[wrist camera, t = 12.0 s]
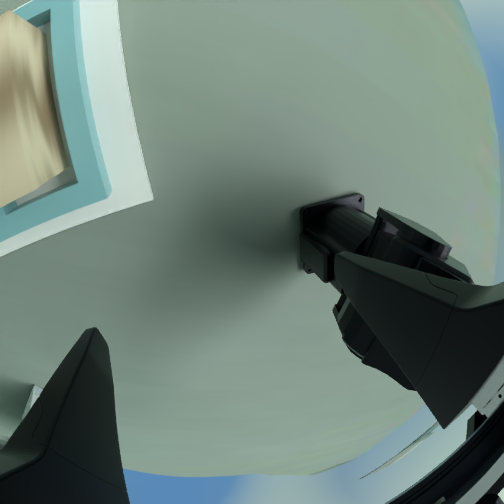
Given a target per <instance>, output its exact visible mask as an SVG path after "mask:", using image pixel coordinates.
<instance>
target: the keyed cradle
mask: <svg viewBox="0 0 504 504" xmlns="http://www.w3.org/2000/svg"><path fill="white" fill-rule="evenodd" d="M12 12H14V13H15V14H17V15H18V16H20V17H21V18H23V19H24V20H26V21H27V22H29V23H30V24H32V25H33V26H35V27H36V28H38V29H39V30H41V31H42V32H44V33H45V34H46V35H47V50H48V61H49V70H50V78H51V85H52V91H53V97H54V103H55V109H56V114H57V119H58V123H59V128H60V132H61V137H62V141H63V145H64V149H65V153H66V156H67V160H68V164H69V168H67V169H65V170H64V171H62V172H61V173H59V174H58V175H56V176H55V177H53V178H52V179H50V180H49V181H47V182H46V183H44V184H43V185H42V186H40V187H39V188H37V189H36V190H34V191H32V192H30V193H28V194H26V195H24V196H22V197H20V198H18V199H16V200H14V201H12V202H10V203H9V204H7V205H5V206H3V207H1V208H0V257H1V256H3V255H5V254H7V253H10V252H12V251H14V250H16V249H19V248H21V247H23V246H26V245H28V244H30V243H33V242H35V241H38V240H40V239H43V238H45V237H48V236H50V235H53V234H55V233H58V232H60V231H63V230H65V229H68V228H71V227H73V226H76V225H79V224H82V223H84V222H87V221H90V220H93V219H96V218H99V217H101V216H104V215H107V214H110V213H113V212H116V211H119V210H122V209H126V208H129V207H132V206H135V205H138V204H141V203H145V202H148V201H151V200H153V193H152V189H151V185H150V181H149V177H148V174H147V170H146V166H145V162H144V157H143V153H142V149H141V145H140V140H139V136H138V131H137V127H136V122H135V117H134V112H133V107H132V102H131V97H130V91H129V86H128V80H127V74H126V68H125V61H124V55H123V47H122V40H121V32H120V23H119V13H118V1H117V0H31V1H29V2H27V3H26V4H24V5H22V6H20V7H19V8H17V9H15V10H13V11H12Z"/></svg>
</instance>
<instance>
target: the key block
mask: <svg viewBox="0 0 504 504" xmlns="http://www.w3.org/2000/svg"><path fill="white" fill-rule="evenodd" d="M67 168H69V164H68V160H67V156H66V153H65V149H64V145H63V141H62V137H61V132H60V128H59V123H58V119H57V114H56V109H55V103H54V97H53V91H52V85H51V78H50V70H49V61H48V50H47V35H46V34H45V33H44V32H42V31H41V30H39V29H38V28H36V27H35V26H33V25H32V24H30V23H29V22H27V21H26V20H24V19H23V18H21V17H20V16H18V15H17V14H15V13H14V12H12V11H11V10H9V11H7V12H6V13H4V14H2V15H1V16H0V208H1V207H3V206H5V205H7V204H9V203H10V202H12V201H14V200H16V199H18V198H20V197H22V196H24V195H26V194H28V193H30V192H32V191H34V190H36V189H37V188H39V187H40V186H42V185H43V184H44V183H46V182H47V181H49V180H50V179H52V178H53V177H55V176H56V175H58V174H59V173H61V172H62V171H64V170H65V169H67Z"/></svg>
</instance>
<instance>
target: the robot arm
mask: <svg viewBox="0 0 504 504" xmlns="http://www.w3.org/2000/svg"><path fill="white" fill-rule="evenodd" d="M359 198H360V199H359ZM358 199H359V201H358ZM307 210H308V213H307V214H306V215H305V212H306V211H307ZM300 221H301V233H300V251H301V259H302V260H303V269H304V271H305V272H306V273H307V274H311V273H315V274H316V275H317V276H318V277H319V278H320V279H321V280H322V281H323V282H324V283H328V282H330V283H331V284H332V285H333V286H334V287H335V288H336V289H337V290H338V291H339V292H340V294H341V297H340V299H339V301H338V303H337V304H335V306H334V308H333V310H332V311H333V314H334V316H335V318H336V321H337V324H338V326H339V329H340V331H341V334H342V339H343V341H344V343H345V344H346V346H347V347H348V349H349V350H350V352H352V353H353V354H354V355H355V356H357V357H358V358H360V359H361V360H362V361H361V362H362V363H363V364H365V365H368V366H370V367H373V368H376V369H378V370H380V371H382V372H383V373H385V374H387V375H388V376H390V377H391V378H393V379H394V380H395V381H397V382H398V383H399V384H400V385H402V386H403V387H404V388H406V389H408V390H413V391H417V392H418V393H419V395H420V396H421V398H422V399H423V401H424V402H425V403H426V405H427V406H428V407H429V409H430V411H431V412H432V414H433V415H434V416H435V418H436V419H437V421H438V422H439V424H440V425H441V427H442V428H443V429H445V428H446V427H448V426H449V425H450V424H451V423H452V422H453V421H454V420H455V419H457V418H458V417H459V416H460V415H461V414H462V413H463V412H464V411H465V410H466V409H467V408H468V407H469V406H470V405H471V404H473V405H474V406H475V408H477V411H476V412H475V413H474V415H472V417H471V418H470V419H469V420H468V423H467V435H466V441H465V442H464V443H463V444H462V445H461V446H460V447H459V448H458V449H456V450H455V451H454V452H453V453H452V454H451V455H450V456H449V457H448V458H446V459H445V460H444V461H443V462H442V463H441V464H439V465H438V466H437V467H436V468H434V469H433V470H432V471H431V472H429V473H428V474H427V475H426V476H424V477H423V478H422V479H420V480H419V481H418V482H416V483H415V484H414V485H412V486H411V487H409V488H408V489H406V490H405V491H404V492H402V493H401V494H399V495H398V496H396V497H395V498H393V499H392V500H390V501H388V502H387V503H385V504H504V503H503V501H502V500H501V498H500V497H499V496H498V495H497V494H498V493H499V492H500V491H501V490H502V489H503V488H504V282H502V283H500V284H497V285H494V286H480V285H475V284H474V282H473V280H472V278H471V276H470V274H469V272H468V270H467V268H466V267H465V265H464V264H462V263H461V262H459V261H457V260H456V259H454V258H453V257H451V256H449V253H450V251H451V249H452V247H451V246H450V245H449V244H448V243H446V242H445V241H444V240H443V239H442V238H441V237H439V236H438V235H437V234H436V233H434V232H433V231H431V230H429V229H427V228H425V227H423V226H422V225H420V224H418V223H416V222H414V221H412V220H410V219H407V218H405V217H402V216H400V215H398V214H395V213H393V212H390V211H388V210H385V209H383V208H380V207H379V209H378V211H377V217H376V218H374V217H373V216H371V215H369V214H367V213H366V212H364V196H363V195H362V194H360V193H357V194H352V195H348V196H344V197H340V198H336V199H331V200H327V201H323V202H319V203H315V204H311V205H307V206H304V207H302V208H301V210H300ZM308 268H310V269H308ZM39 396H40V397H38V398H37V399H36V401H35V403H34V404H33V406H32V407H31V409H30V410H29V412H28V413H27V415H26V416H25V418H24V419H23V420H22V422H21V423H20V425H19V426H18V427H17V429H16V430H15V432H14V433H13V434H12V436H11V437H10V439H9V440H8V442H7V443H6V445H5V446H4V447H3V448H2V449H1V450H0V504H130V502H129V498H128V493H127V492H126V491H127V489H126V484H125V480H124V474H123V468H122V462H121V455H120V449H119V441H118V433H117V423H116V412H115V399H114V384H113V377H112V370H111V363H110V355H109V348H108V345H107V343H106V341H105V339H104V338H103V336H102V335H101V333H100V332H99V330H98V329H97V328H96V327H93V328H89V329H86V330H85V331H84V333H83V334H82V335H81V337H80V338H79V339H78V341H77V342H76V343H75V345H74V346H73V347H72V349H71V350H70V351H69V353H68V354H67V356H66V357H65V358H64V360H63V361H62V363H61V364H60V365H59V367H58V368H57V370H56V371H55V373H54V374H53V375H52V377H51V378H50V380H49V381H48V383H47V384H46V386H45V387H44V389H43V390H42V392H41V393H40V395H39Z"/></svg>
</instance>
